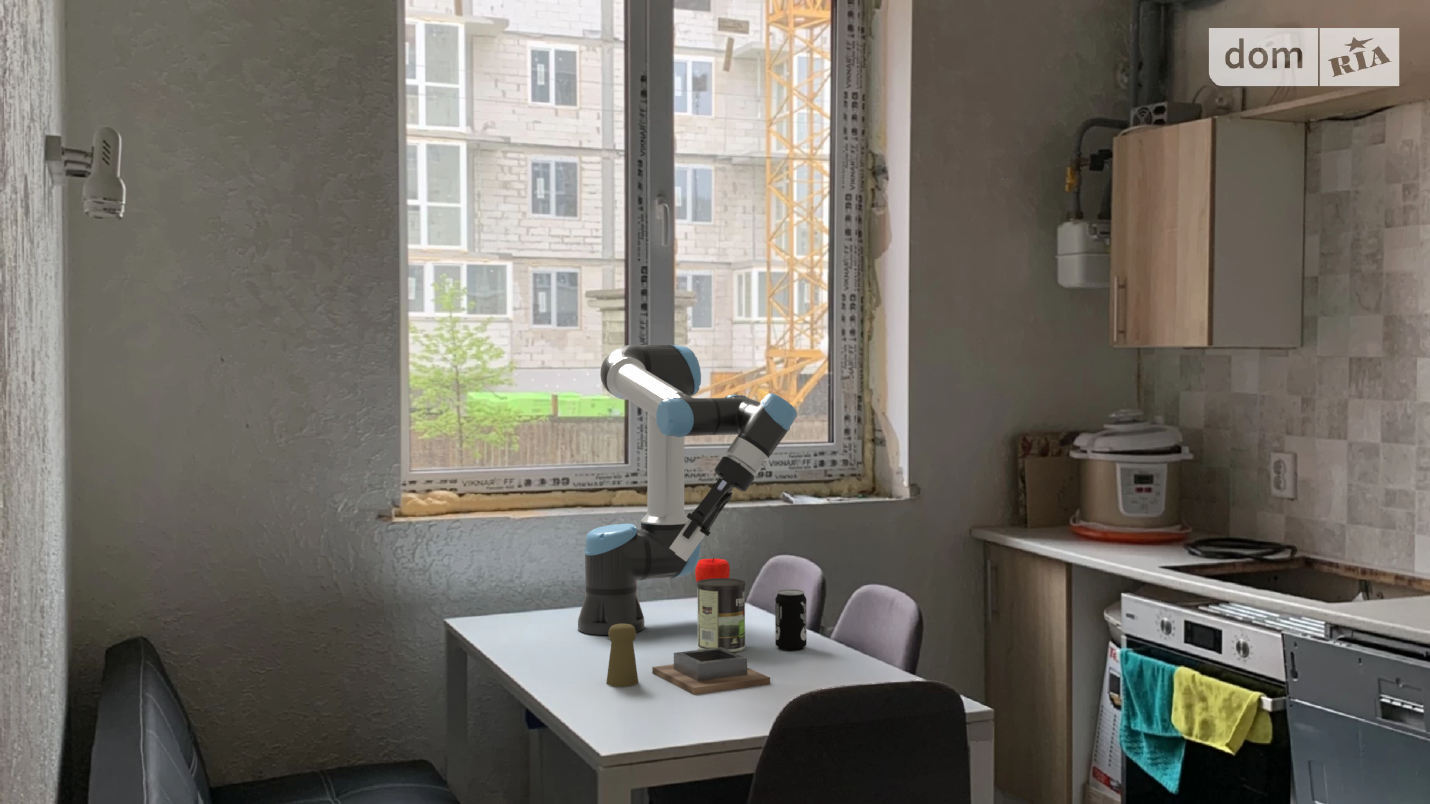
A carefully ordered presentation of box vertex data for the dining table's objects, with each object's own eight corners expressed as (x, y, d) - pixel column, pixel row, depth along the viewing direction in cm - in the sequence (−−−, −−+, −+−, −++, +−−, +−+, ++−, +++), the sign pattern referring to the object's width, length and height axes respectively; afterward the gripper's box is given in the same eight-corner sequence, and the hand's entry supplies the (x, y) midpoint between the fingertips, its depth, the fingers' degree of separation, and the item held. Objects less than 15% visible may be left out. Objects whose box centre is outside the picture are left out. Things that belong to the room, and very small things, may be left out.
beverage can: (797, 652, 253) (797, 595, 253) (769, 649, 257) (769, 592, 257) (811, 646, 259) (811, 590, 259) (784, 643, 262) (784, 587, 262)
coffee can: (749, 643, 262) (749, 578, 262) (740, 654, 252) (740, 586, 252) (702, 641, 264) (702, 577, 264) (692, 652, 254) (691, 585, 254)
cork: (643, 680, 231) (643, 622, 231) (630, 687, 225) (630, 628, 225) (614, 677, 233) (613, 620, 233) (601, 685, 227) (600, 626, 227)
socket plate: (652, 673, 236) (652, 650, 236) (725, 663, 244) (724, 641, 244) (693, 694, 220) (693, 670, 220) (770, 683, 228) (770, 660, 228)
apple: (692, 602, 310) (692, 560, 310) (698, 596, 318) (698, 555, 318) (727, 603, 308) (727, 560, 308) (732, 597, 317) (732, 555, 317)
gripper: (755, 466, 226) (689, 561, 223) (756, 484, 250) (697, 570, 247) (722, 444, 227) (656, 538, 224) (726, 464, 251) (667, 549, 248)
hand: (677, 555), depth 236 cm, fingers open, 13 cm apart
